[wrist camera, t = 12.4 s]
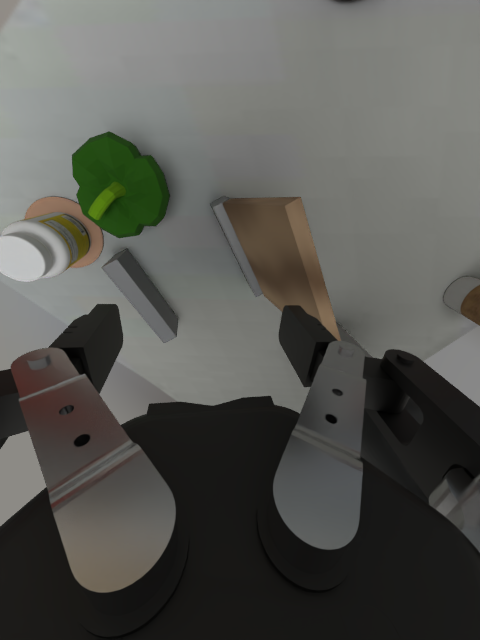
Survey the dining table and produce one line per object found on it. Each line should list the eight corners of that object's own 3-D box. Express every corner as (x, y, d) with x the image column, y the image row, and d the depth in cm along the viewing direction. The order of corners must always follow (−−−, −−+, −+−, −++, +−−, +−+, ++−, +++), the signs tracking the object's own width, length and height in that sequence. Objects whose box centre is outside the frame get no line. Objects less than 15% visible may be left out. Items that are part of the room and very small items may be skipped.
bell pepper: (144, 128, 25) (120, 101, 17) (184, 206, 30) (181, 217, 21) (75, 165, 26) (19, 157, 17) (124, 237, 30) (98, 259, 22)
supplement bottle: (44, 255, 29) (-14, 285, 21) (36, 207, 27) (-34, 218, 18) (94, 262, 31) (58, 292, 22) (91, 216, 28) (48, 231, 20)
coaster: (117, 248, 31) (116, 249, 30) (65, 277, 31) (63, 278, 31) (68, 183, 26) (66, 183, 26) (8, 217, 27) (6, 218, 27)
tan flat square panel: (264, 295, 31) (270, 291, 31) (333, 357, 19) (343, 350, 19) (222, 203, 25) (230, 198, 25) (284, 205, 13) (300, 197, 13)
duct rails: (260, 277, 36) (269, 290, 32) (167, 324, 37) (163, 343, 33) (224, 195, 30) (229, 198, 25) (113, 255, 31) (101, 267, 27)
